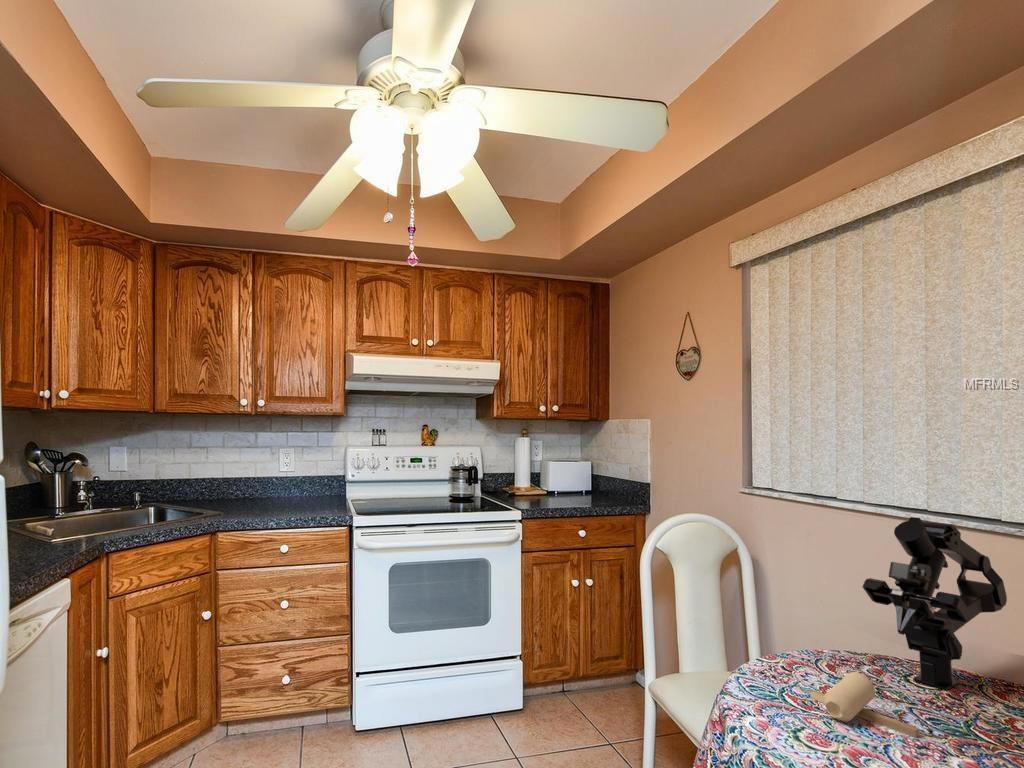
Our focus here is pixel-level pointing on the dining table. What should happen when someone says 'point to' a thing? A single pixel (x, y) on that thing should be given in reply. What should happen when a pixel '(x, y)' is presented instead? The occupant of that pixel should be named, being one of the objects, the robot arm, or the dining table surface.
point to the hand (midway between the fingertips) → (900, 633)
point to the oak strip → (877, 718)
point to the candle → (849, 696)
